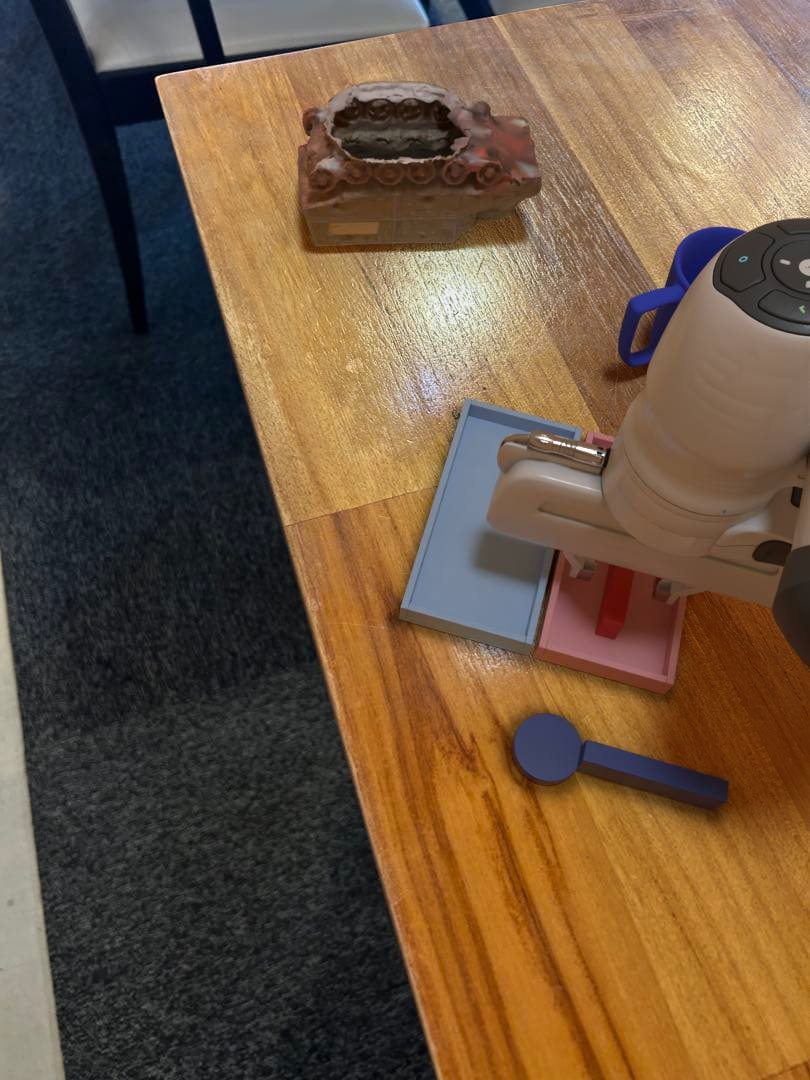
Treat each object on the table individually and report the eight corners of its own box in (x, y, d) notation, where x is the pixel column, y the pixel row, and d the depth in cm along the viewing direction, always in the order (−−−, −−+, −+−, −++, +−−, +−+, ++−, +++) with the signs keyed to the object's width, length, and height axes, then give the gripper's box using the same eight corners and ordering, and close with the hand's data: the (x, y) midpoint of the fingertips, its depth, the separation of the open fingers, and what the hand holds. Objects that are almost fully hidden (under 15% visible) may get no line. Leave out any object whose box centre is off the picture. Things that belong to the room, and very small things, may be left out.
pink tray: (698, 475, 72) (707, 461, 70) (664, 695, 63) (673, 685, 61) (582, 444, 72) (588, 429, 71) (533, 657, 64) (538, 646, 62)
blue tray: (576, 443, 72) (582, 428, 71) (527, 656, 64) (532, 644, 62) (462, 412, 73) (465, 397, 71) (398, 619, 65) (400, 607, 63)
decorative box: (303, 147, 86) (299, 47, 77) (523, 161, 87) (544, 64, 78) (292, 255, 80) (287, 159, 71) (530, 269, 80) (553, 177, 72)
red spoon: (636, 646, 64) (646, 633, 62) (573, 628, 65) (581, 614, 62) (665, 487, 70) (675, 470, 68) (607, 471, 71) (616, 453, 69)
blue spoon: (718, 767, 61) (732, 757, 59) (710, 834, 59) (724, 826, 57) (519, 709, 62) (525, 697, 60) (504, 774, 60) (510, 764, 58)
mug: (577, 345, 77) (608, 254, 68) (703, 306, 80) (748, 214, 71) (627, 423, 74) (666, 339, 65) (756, 379, 76) (811, 292, 68)
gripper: (492, 470, 52) (462, 580, 64) (865, 571, 51) (762, 664, 63) (517, 382, 55) (484, 503, 67) (870, 475, 54) (771, 581, 66)
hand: (621, 581), depth 65 cm, fingers open, 4 cm apart
